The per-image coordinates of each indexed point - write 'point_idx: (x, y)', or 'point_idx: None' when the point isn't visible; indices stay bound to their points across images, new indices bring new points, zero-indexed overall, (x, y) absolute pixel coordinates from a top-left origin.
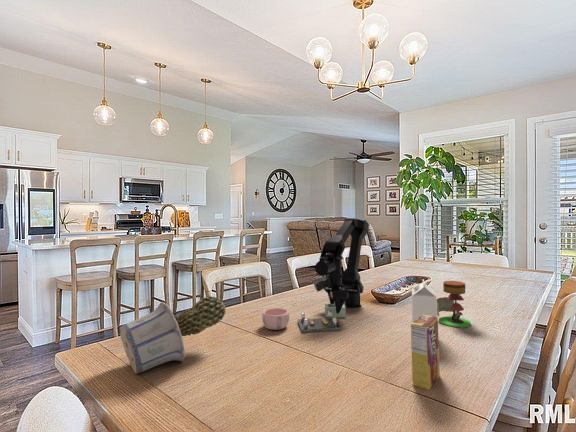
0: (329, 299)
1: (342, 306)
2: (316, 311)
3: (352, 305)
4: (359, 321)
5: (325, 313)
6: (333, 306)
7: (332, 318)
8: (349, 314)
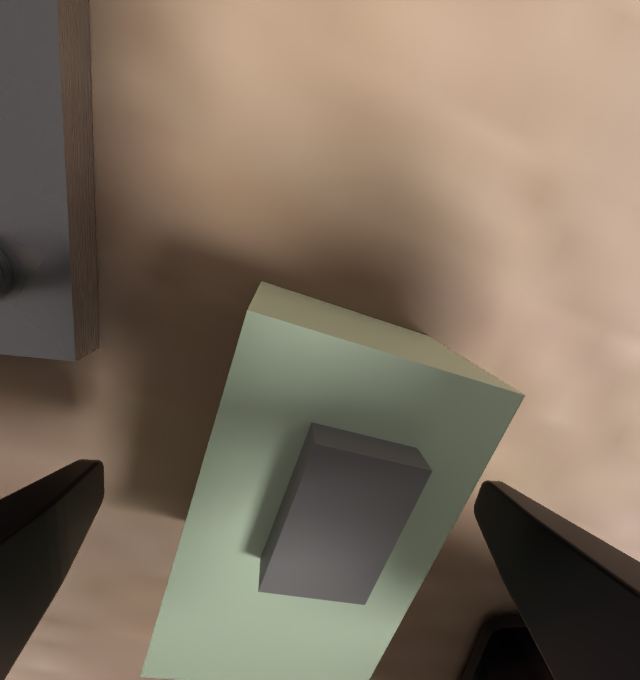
0: (626, 575)
1: (240, 650)
2: (552, 246)
3: (489, 674)
4: None
5: (259, 291)
6: (280, 514)
7: (18, 329)
8: None
